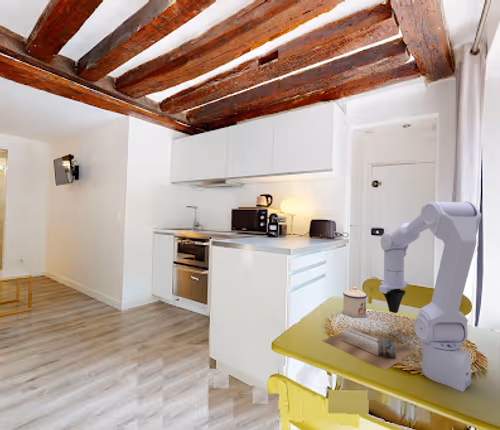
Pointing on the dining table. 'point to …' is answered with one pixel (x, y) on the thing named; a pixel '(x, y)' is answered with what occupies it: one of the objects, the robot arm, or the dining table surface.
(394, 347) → the bar
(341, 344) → the walnut board
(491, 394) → the dining table surface
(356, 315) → the teacup with lid
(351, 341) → the arm
